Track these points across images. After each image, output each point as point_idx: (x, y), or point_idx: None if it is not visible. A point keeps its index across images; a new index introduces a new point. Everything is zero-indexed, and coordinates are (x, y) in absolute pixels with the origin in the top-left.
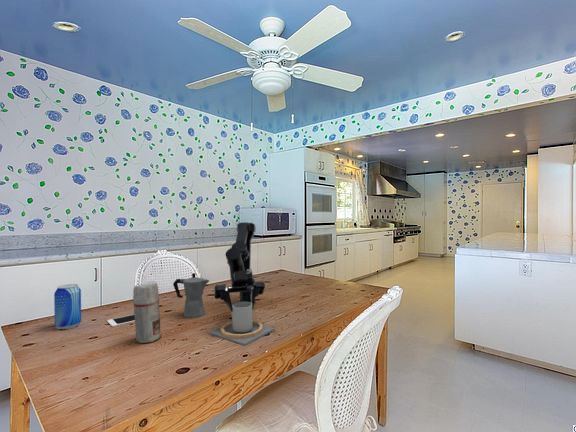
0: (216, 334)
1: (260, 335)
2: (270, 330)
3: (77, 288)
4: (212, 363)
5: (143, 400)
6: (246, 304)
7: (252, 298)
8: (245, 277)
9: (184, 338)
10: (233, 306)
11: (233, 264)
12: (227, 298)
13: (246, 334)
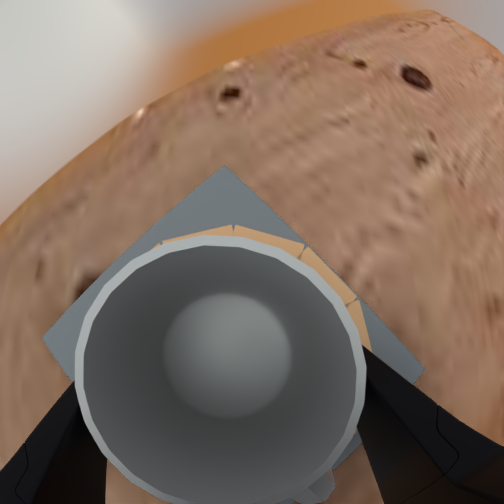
0: (386, 328)
1: (124, 256)
2: (63, 315)
3: None
4: (347, 77)
5: (428, 28)
6: (160, 471)
7: (44, 458)
8: None
9: (495, 318)
10: (349, 321)
11: None
12: (469, 437)
13: (206, 232)
